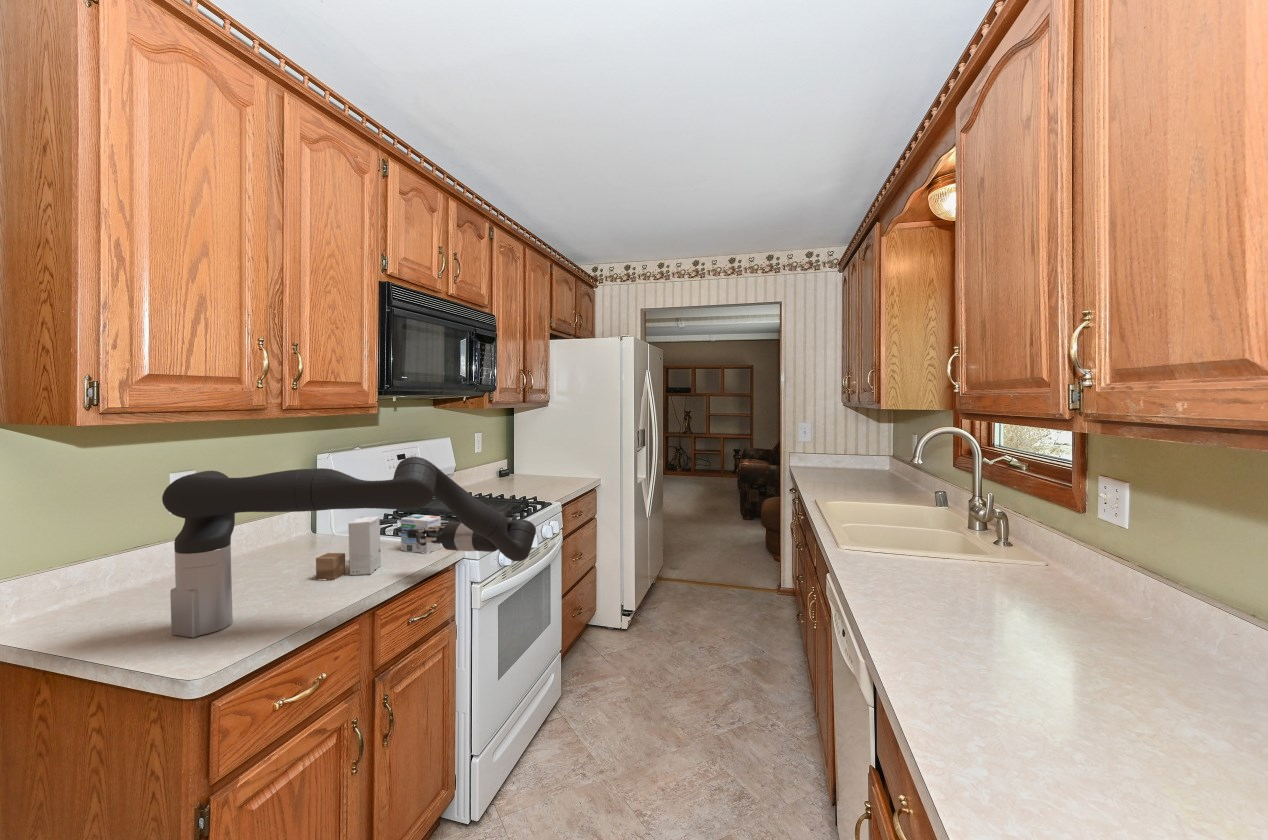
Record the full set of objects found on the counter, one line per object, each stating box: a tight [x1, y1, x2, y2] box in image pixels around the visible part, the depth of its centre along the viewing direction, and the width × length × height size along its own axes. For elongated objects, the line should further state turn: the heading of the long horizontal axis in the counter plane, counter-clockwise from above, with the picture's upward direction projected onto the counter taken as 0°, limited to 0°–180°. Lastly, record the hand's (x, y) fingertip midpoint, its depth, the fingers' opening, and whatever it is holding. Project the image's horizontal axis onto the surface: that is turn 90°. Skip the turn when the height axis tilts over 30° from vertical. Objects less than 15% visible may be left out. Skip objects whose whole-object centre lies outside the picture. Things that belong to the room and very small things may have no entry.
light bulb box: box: [400, 513, 442, 553], centre depth 169 cm, size 11×7×11 cm, turn 73°
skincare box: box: [347, 516, 382, 576], centre depth 149 cm, size 8×6×15 cm
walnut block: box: [315, 552, 346, 581], centre depth 143 cm, size 5×5×6 cm
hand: (408, 533), depth 145 cm, fingers closed
